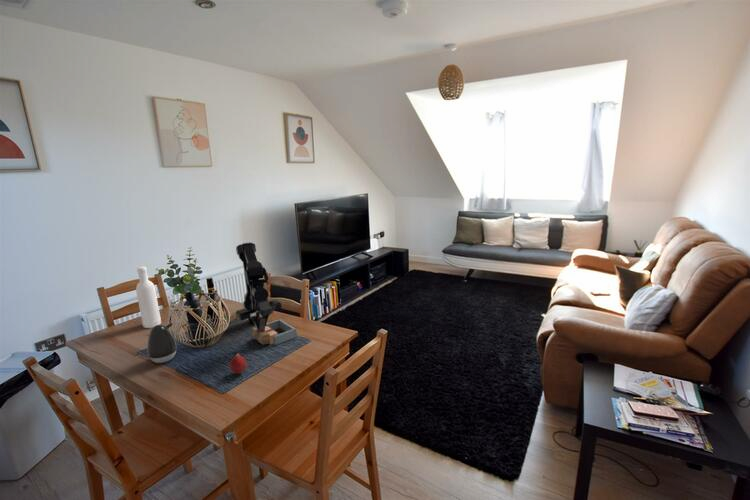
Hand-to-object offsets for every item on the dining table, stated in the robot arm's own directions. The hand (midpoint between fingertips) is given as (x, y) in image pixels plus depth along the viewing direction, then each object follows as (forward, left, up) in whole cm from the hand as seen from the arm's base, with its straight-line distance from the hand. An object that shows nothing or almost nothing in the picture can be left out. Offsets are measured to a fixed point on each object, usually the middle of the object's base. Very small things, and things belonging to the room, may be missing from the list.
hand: (261, 327), depth 156 cm
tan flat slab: (-35, -6, -7) cm, 36 cm away
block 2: (+3, +3, -7) cm, 8 cm away
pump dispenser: (-15, -36, -7) cm, 39 cm away
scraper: (0, -1, -5) cm, 5 cm away
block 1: (-3, +3, -7) cm, 8 cm away
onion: (+17, -18, -7) cm, 26 cm away
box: (0, +7, -7) cm, 10 cm away
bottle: (-57, -32, -7) cm, 65 cm away
